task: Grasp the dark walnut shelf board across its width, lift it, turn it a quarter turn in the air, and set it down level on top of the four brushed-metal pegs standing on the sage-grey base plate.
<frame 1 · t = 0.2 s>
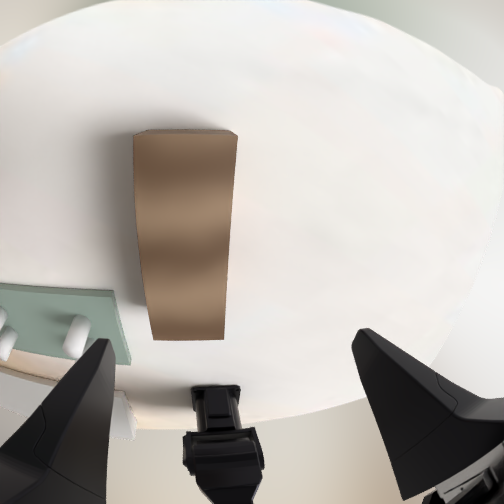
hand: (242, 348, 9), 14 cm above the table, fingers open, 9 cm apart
walnut shelf board: (185, 229, 22), on the table
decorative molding: (39, 386, 30), on the table
peg base: (45, 322, 23), on the table
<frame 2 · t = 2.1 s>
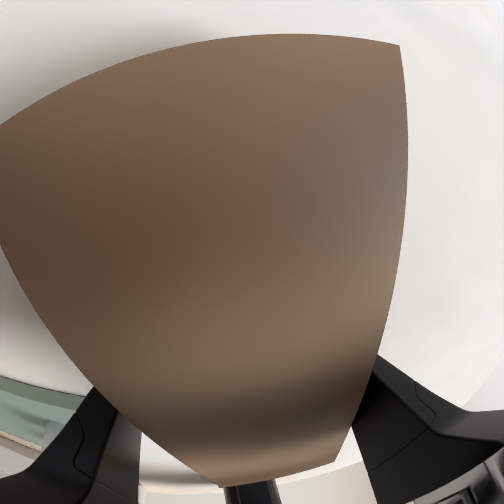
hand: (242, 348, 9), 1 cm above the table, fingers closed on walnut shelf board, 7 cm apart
walnut shelf board: (235, 320, 10), on the table, touching gripper
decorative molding: (24, 447, 18), on the table
peg base: (12, 408, 11), on the table
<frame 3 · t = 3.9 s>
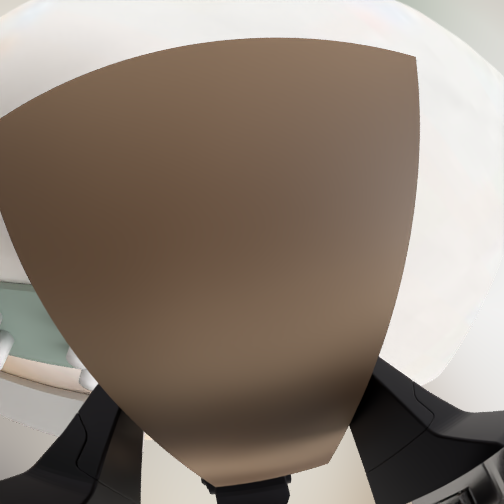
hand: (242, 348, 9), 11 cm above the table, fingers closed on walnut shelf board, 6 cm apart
walnut shelf board: (235, 320, 10), point 10 cm above the table, touching gripper
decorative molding: (36, 391, 26), on the table
peg base: (45, 326, 20), on the table
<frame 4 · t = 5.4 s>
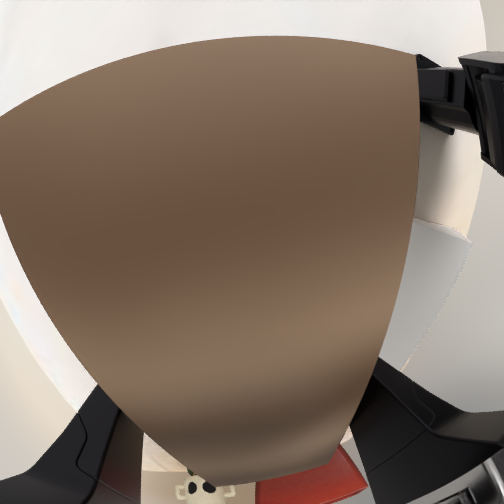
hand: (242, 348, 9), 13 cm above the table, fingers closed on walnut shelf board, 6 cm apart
plant pot: (293, 441, 47), on the table
walnut shelf board: (235, 320, 10), point 12 cm above the table, touching gripper
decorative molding: (368, 336, 33), on the table
character mug: (199, 447, 41), on the table
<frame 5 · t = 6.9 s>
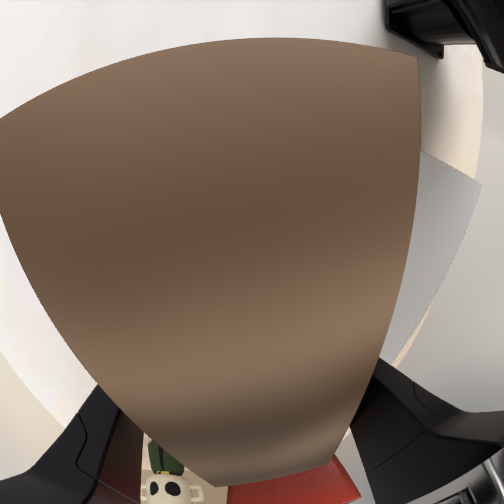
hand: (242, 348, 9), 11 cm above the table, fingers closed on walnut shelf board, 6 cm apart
plant pot: (276, 441, 41), on the table
walnut shelf board: (235, 320, 10), point 10 cm above the table, touching gripper
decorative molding: (357, 310, 27), on the table
character mug: (166, 443, 35), on the table
when the fingers open (7 cm above the table, at t = 8.3 s): walnut shelf board stays where it is, resting on peg base.
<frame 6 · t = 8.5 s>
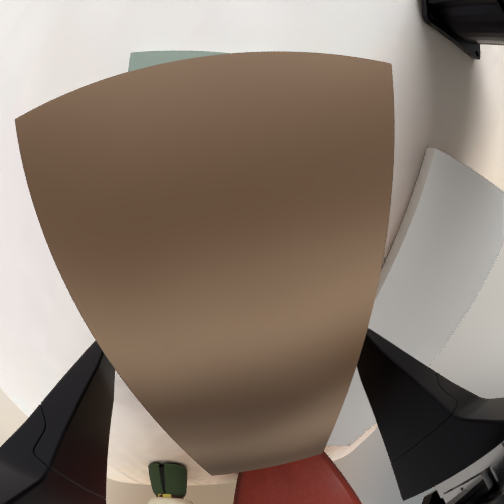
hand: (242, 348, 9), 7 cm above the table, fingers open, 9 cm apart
plant pot: (281, 459, 37), on the table
walnut shelf board: (233, 307, 11), point 5 cm above the table, touching peg base
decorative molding: (374, 336, 24), on the table
character mug: (167, 463, 32), on the table
peg base: (221, 248, 15), on the table
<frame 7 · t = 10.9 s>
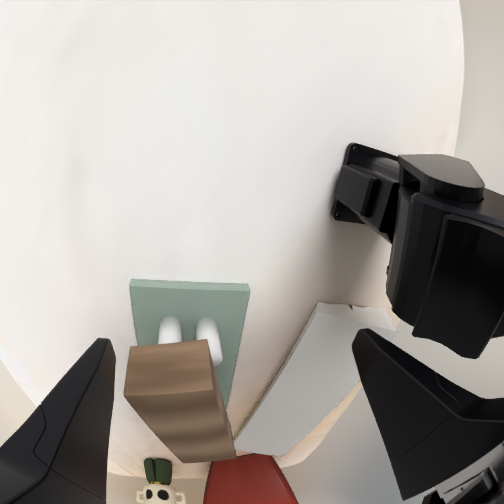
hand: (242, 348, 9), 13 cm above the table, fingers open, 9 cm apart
plant pot: (243, 461, 49), on the table
walnut shelf board: (190, 397, 23), point 5 cm above the table, touching peg base
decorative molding: (290, 390, 36), on the table
character mug: (157, 460, 43), on the table
peg base: (187, 358, 27), on the table
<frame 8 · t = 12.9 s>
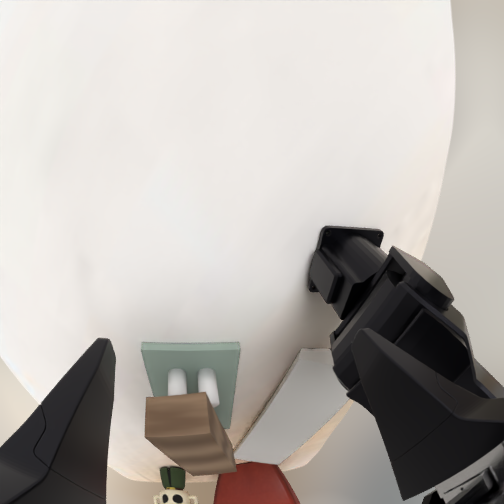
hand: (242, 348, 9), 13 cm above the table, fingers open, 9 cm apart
plant pot: (250, 466, 53), on the table
walnut shelf board: (196, 427, 26), point 5 cm above the table, touching peg base
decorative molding: (283, 411, 39), on the table
character mug: (172, 467, 48), on the table
peg base: (193, 393, 31), on the table
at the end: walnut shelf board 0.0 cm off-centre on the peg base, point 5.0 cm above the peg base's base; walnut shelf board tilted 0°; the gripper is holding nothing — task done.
